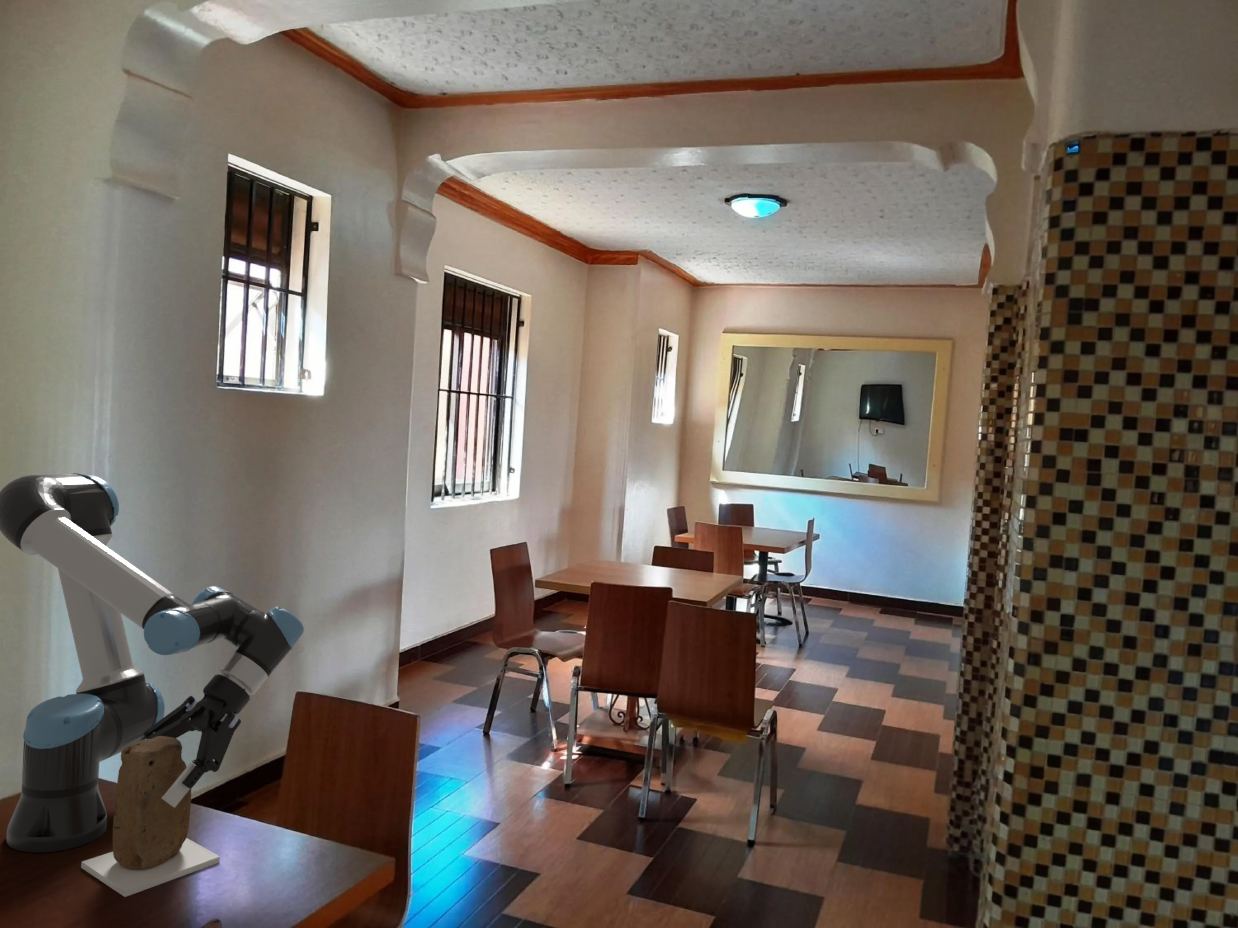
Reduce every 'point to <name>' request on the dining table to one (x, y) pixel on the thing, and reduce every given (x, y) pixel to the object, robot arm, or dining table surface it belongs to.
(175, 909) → the dining table surface
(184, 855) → the mat
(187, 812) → the block
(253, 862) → the dining table surface
